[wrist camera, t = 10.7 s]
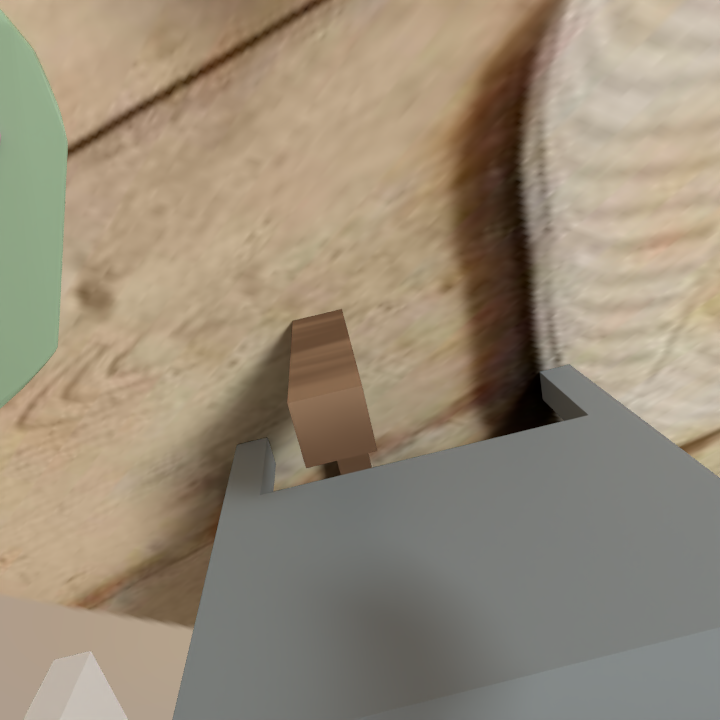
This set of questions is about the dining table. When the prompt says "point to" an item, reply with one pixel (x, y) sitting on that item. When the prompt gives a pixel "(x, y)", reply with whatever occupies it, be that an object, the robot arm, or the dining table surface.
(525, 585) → the cabinet
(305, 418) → the pusher tool
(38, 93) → the miniature garden model
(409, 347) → the dining table surface
